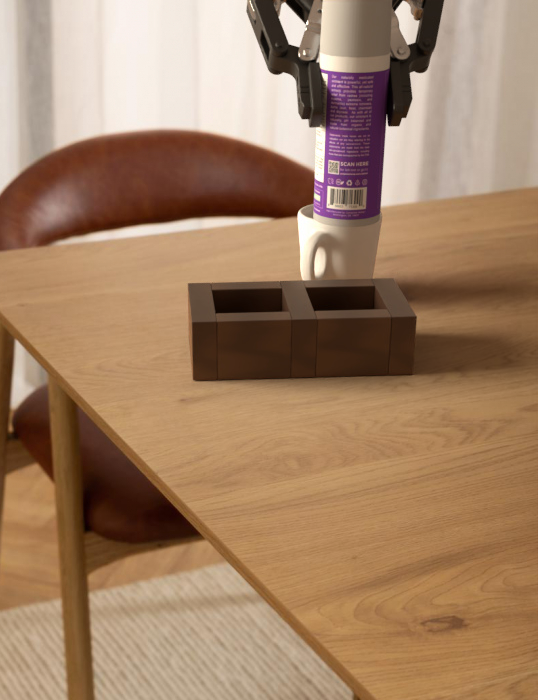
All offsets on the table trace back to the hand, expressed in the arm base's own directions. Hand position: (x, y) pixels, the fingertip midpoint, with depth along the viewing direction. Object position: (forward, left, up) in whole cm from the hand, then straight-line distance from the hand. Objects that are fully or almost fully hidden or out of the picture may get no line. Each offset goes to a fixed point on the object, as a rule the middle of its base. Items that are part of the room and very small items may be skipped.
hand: (356, 119), depth 78 cm
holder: (+2, -14, -22) cm, 26 cm away
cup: (-3, -29, -22) cm, 37 cm away
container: (0, -2, -7) cm, 8 cm away
